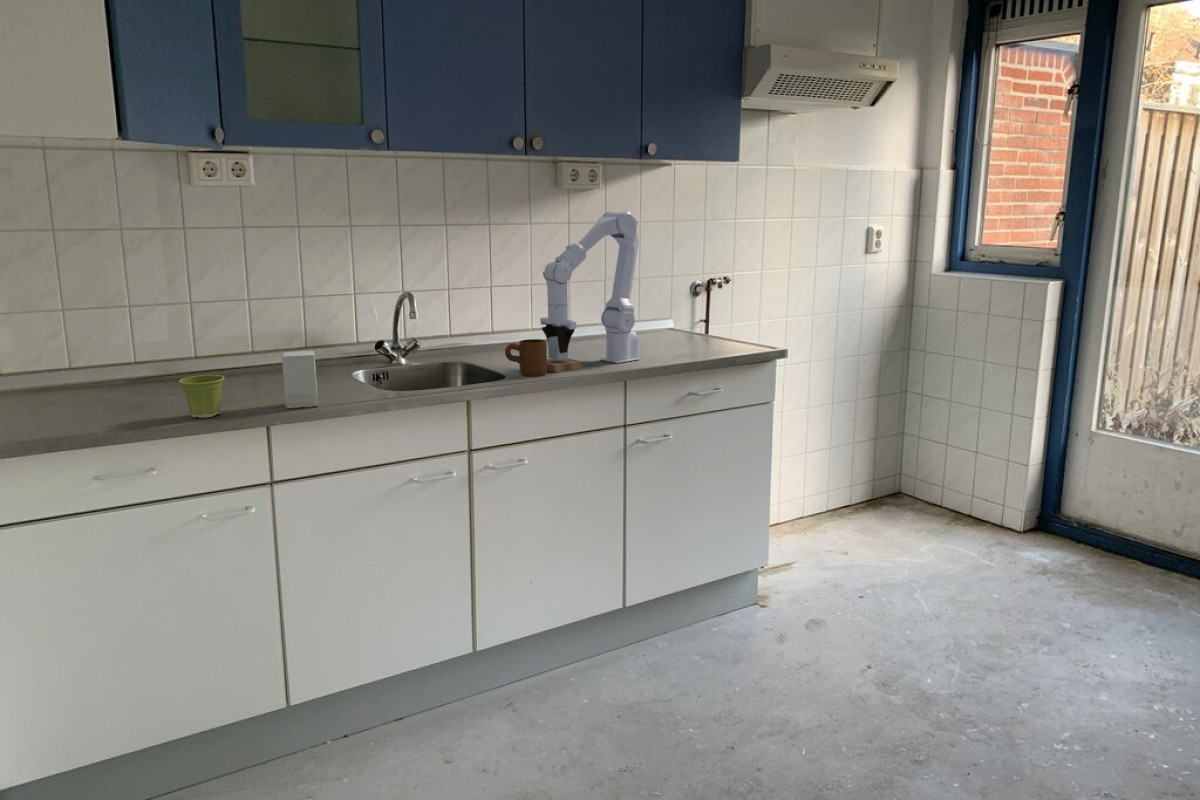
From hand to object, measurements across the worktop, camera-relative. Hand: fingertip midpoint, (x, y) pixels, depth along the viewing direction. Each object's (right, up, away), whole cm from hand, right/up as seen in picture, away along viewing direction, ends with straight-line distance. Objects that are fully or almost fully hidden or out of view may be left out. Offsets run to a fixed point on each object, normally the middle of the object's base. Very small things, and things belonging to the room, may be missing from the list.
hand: (558, 351), depth 258 cm
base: (0, -5, +1) cm, 5 cm away
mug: (-9, -7, -9) cm, 14 cm away
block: (0, -2, 0) cm, 2 cm away
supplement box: (-60, -15, -43) cm, 75 cm away
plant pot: (-78, -18, -54) cm, 96 cm away
